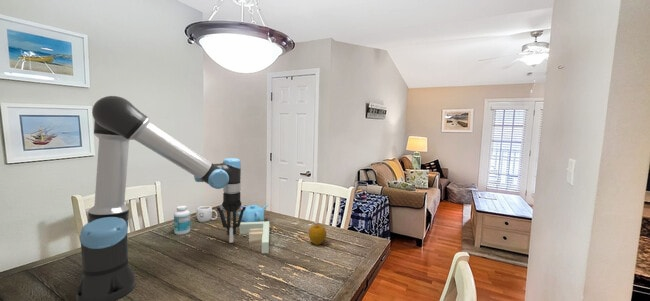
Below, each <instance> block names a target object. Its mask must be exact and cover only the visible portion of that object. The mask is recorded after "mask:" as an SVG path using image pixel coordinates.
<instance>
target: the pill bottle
mask: <svg viewBox="0 0 650 301" xmlns="http://www.w3.org/2000/svg"><path fill="white" fill-rule="evenodd" d="M173 230H174V235H175V234H176V235H181V236H182V235H185V234H188V233H190V232H191V210H188V206H187V205H178V206H176V211H175V212H174V213H173Z"/></svg>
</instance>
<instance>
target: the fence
mask: <svg viewBox="0 0 650 301" xmlns="http://www.w3.org/2000/svg"><path fill="white" fill-rule="evenodd" d="M238 228H239V235H244V234H245V235H246V234H248V235H249V232H250V229H261V228H263V234H262V245H261V254H269V253H270V252H269V249H270V221H269V220H268V221H265V220H264V222H241V223H240V226H239V227H238Z"/></svg>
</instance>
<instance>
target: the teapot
mask: <svg viewBox="0 0 650 301" xmlns="http://www.w3.org/2000/svg"><path fill="white" fill-rule="evenodd" d="M245 206H246V209H245V210H244V212H243V216H242V219H241V222H264V221H265V210H266V208H267V207H269V205H268V204H266V205H264V206H263V207H261V206H259V205H257V204H250V205H245ZM240 212H241V211H238V212H236V215H238V217H239V216H240Z"/></svg>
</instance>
